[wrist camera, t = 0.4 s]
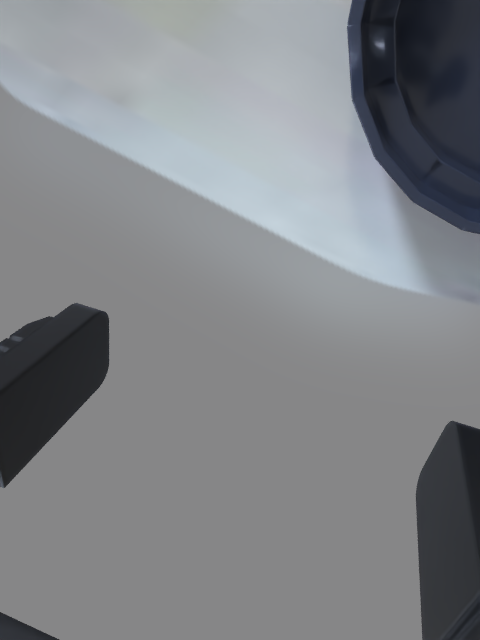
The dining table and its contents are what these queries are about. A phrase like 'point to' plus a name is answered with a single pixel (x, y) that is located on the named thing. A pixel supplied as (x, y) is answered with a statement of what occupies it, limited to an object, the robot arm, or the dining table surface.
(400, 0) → the bowl
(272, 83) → the dining table surface
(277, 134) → the dining table surface
